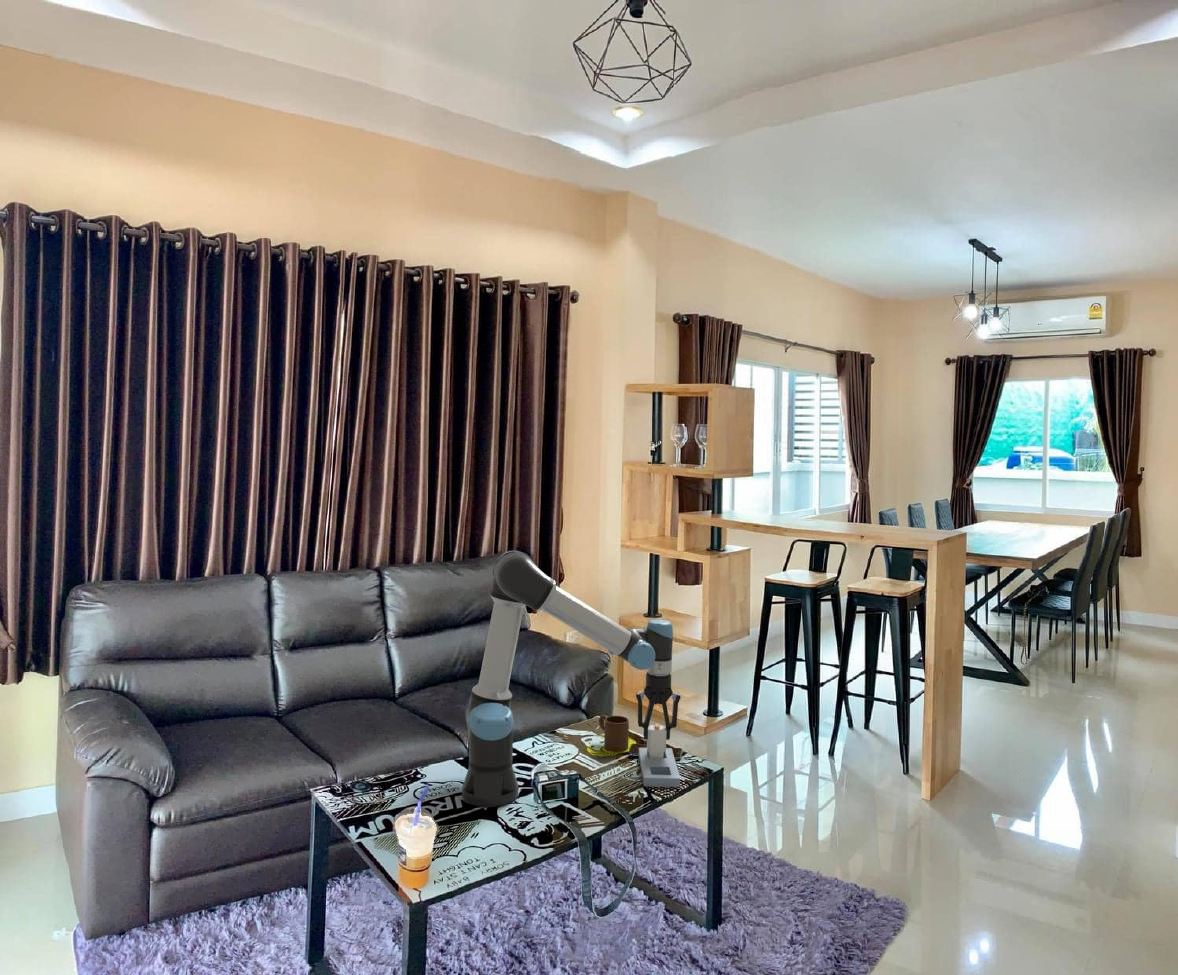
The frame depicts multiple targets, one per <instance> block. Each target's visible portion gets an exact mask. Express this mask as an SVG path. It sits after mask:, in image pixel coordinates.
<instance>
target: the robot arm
mask: <svg viewBox="0 0 1178 975" xmlns="http://www.w3.org/2000/svg"><path fill="white" fill-rule="evenodd" d="M492 576H493V578H492V583H491V589H490V595H489V596H490V598H491V599H492V601H493V605H492V612H491V617H490V623H489V628H488V632H487V637H486V644H485V647H484V654H483V659H482V663H481V670H480V674H479V678H478V679H479V680H478V683H477V684H476V685H474V686H473V687H472V688H471V693H470V698H469V701H468V703H467V705H466V708H465V714H464V717H465V722H466V725H467V731H468V732H467V733H468V739H469V740H468V743H469V744H468V746H469V747H468V748H469V749H468V753H469V754H468V769H467V773H466V775H465V778H464V780H463V783H462V788H461V797H462V799H463V800H464V802H466V803H467V804H469V805H472V806H476V807H482V808H494V807H495V808H496V807H501V806H505V805H508V804H511V803H512V802H514V801H516V799H517V798H518V796H519V784H518V780H517V777H516V774H515V770H514V768H513V752H514V751H513V750H514V749H513V747H514V746H513V744H514V743H513V742H514V741H513V738H514V737H513V736H514V733H513V732H514V726H515V722H514V714H513V712H512V710H511V703H512V699H513V693H512V692H511V691H510V689H509V686H510V682H511V681H510V680H511V675H512V670H513V666H514V661H515V660H514V659H515V655H516V649H517V645H518V640H519V635H520V633H519V632H520V628H521V623H522V618H523V615H524V614H523V613H524V608H525V607H526V606H527V607H529V608H531V610H534V611H536V612H537V611H539V612H540V611H543V612H545V613H546V614H548V615H549V616H551V617H552V618H555V619H556V620H558V621H560V622H561V623H563V624H565V625H566V626H568V627H570V628H571V629H573V630H575V631H576V632H578V633H579V634H581V635H583V636H584V637H586V638H588V639H590V640H591V641H592V642H594V643H597V645H599V646H601V647H602V648H604V649H606V650H607V651H608V654H610V655H616V656H618V657H619V658H621V659H623V660H624V661H626V662H627V663H629V665H630V666H631V667H633V668H634V669H637V670H640V671H644V670H645V671H646V673H645V687H644V689H643V691H636V692H635V697H636V700H637V724H638V725H637V726H638V727H639V728H643V739H644V740H646V748H647V751H650V734H651V729H650V723H651V718H652V713H653V711H654V706H655V705H662V706H661V708H662V711H663V717H664V718H663V719H664V724H665V726H663V727H664V752H666V748H667V741H669V740H670V739H671V729H673V728H675V729H676V728H677V724H678V714H679V713H678V710H679V702H680V700H681V698H682V697H681V694H680V693H679V692H674V691H673V689H672V674H671V673H672V671H673V670H672V669H673V668H672V667H673V666H672V663H673V662H672V661H673V660H672V659H673V643H674V642H673V641H674V629H673V623H672V622H670V621H669V620H666V619H651V620H649V621H648V622H647V626H646V627H632V628H631V627H628V628H627V627H626V628H625V627H624V626H622V625H620V624H619V623H618V622H616V621H614V620H612V619H610V618H609V617H608V616H605V615H604V614H603V613H601V612H599V611H597V609H594V608H593V607H591V606H589V605H588V604H586V603H584V602H583V601H582V600H580V599H578V598H576V597H575V596H573V595H571V594H570V593H569V592H567V591H565V590H563V589H562V588H560V587H559V586H557V585H556V584H557V583H556V581H555V579H553V578H551V577H550V576H548V574H546V573H545V572H543V571H542V569H540V568H539V567H538V565H536V563H535V562H534V560H533V559H532V558H531V556H530V555H528V554H527V553H525V552H522V551H519V550H509V551H506V552H504V553H502V554H501V555H499V556H498V557H497V559H496V560H495V562H494V564H493V566H492ZM645 697H646V699H647V700H648V706H647V710H646V712H645V713H646V714H645V718H644V721H643V700H644V699H645ZM671 697H672V714H671V722H670V717H669V712H668V705H667V702H668V701H669V699H670V698H671Z"/></svg>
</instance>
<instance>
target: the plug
mask: <svg viewBox="0 0 1178 975" xmlns="http://www.w3.org/2000/svg"><path fill="white" fill-rule="evenodd" d="M649 727H650V729H651V734H650V751H649V758H663V755H664V727H665V726H664V725H660V724H659V723H657V722H656V723H654V725H652V724H649Z"/></svg>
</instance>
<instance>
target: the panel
mask: <svg viewBox="0 0 1178 975" xmlns="http://www.w3.org/2000/svg"><path fill="white" fill-rule="evenodd" d="M638 760H639V766H640V771H641V778H642V783H643V787H649V788H650V787H653V788H655V787H658V788H665V787H666V788H680V787H681V777H680V773H679V771H678V766H677V762H676V759H675V756H674V752H673V749H672V747H666V752H664V755H663V758H649V751H647V747H638Z"/></svg>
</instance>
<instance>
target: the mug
mask: <svg viewBox="0 0 1178 975" xmlns="http://www.w3.org/2000/svg"><path fill="white" fill-rule="evenodd" d="M629 721H630V720H629V718H627V717H626V716H623V715H610V716H608V715H606V714H601V715H600V716H599V718H598V724H599V728H600V729H601V730H602V731H603V732H604V734H603V735H604V742H603V744H604V745H603V747H604V749H606V750H607V751H609V752H613V753H615V752H616V753H618V752H625V751H626V750H628V749H629V740H630V739H629V736H630V722H629Z"/></svg>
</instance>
